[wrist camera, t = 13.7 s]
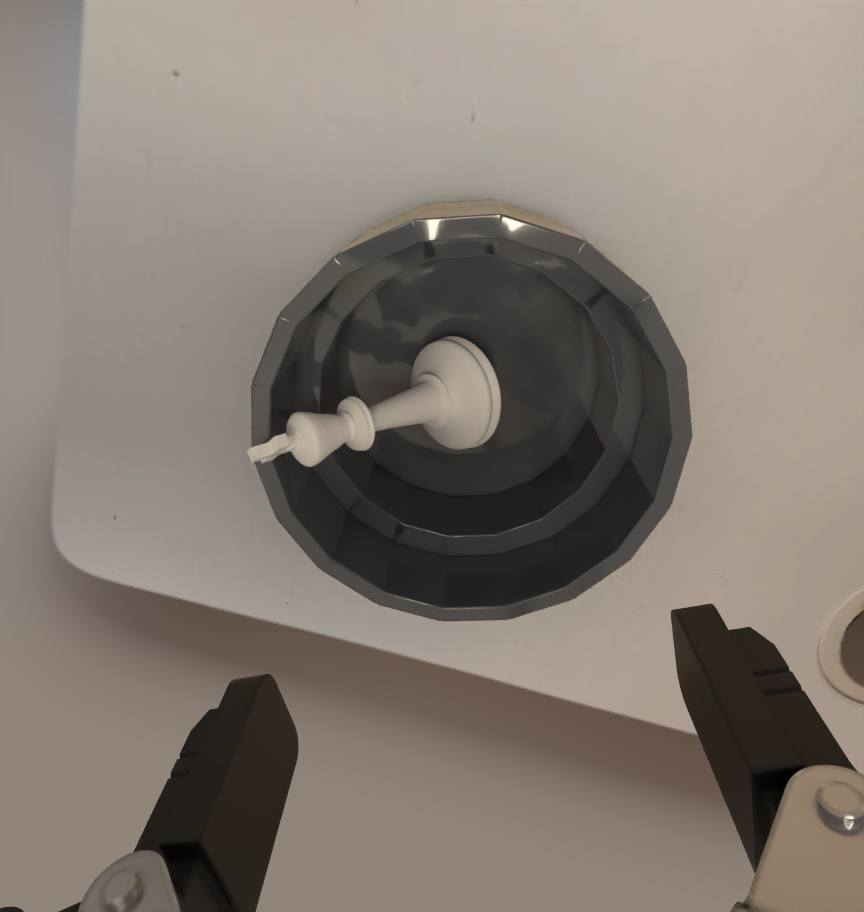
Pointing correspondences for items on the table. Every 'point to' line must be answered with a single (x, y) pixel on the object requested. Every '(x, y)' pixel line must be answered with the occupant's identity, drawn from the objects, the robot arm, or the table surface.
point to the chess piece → (404, 408)
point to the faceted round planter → (520, 424)
